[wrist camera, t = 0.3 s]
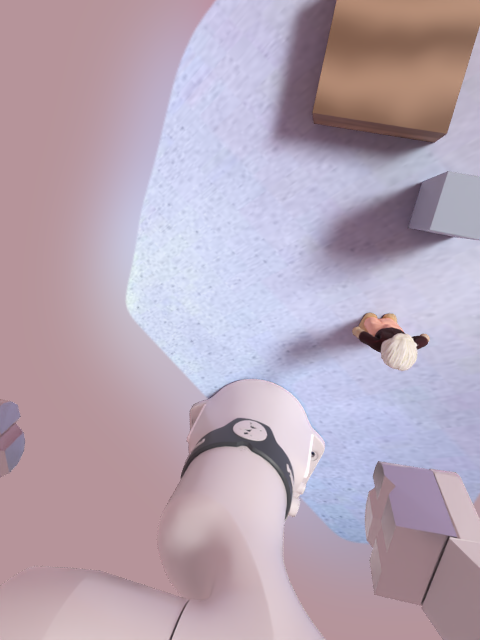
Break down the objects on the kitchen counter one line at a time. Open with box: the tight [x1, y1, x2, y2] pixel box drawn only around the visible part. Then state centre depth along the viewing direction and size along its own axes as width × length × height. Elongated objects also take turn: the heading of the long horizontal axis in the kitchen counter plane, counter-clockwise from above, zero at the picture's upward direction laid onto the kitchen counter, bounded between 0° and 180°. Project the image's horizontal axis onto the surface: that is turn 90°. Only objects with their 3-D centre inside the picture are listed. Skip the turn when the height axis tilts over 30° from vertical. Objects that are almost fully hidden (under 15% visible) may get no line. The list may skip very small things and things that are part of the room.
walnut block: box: [312, 0, 480, 143], centre depth 40 cm, size 13×13×5 cm
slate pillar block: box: [408, 171, 480, 240], centre depth 39 cm, size 5×5×10 cm
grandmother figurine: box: [352, 313, 430, 371], centre depth 42 cm, size 8×4×13 cm, turn 99°
